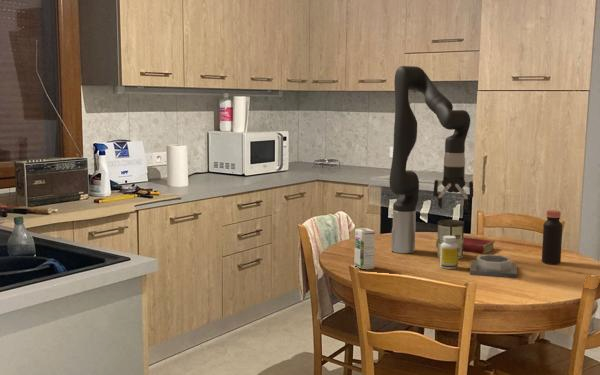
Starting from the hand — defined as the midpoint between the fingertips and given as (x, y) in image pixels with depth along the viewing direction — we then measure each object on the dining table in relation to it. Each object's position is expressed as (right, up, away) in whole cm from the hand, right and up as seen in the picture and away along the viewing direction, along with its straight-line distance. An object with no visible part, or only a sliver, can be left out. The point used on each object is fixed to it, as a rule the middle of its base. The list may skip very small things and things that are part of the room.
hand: (452, 208), depth 237 cm
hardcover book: (+13, -19, +34) cm, 41 cm away
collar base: (+14, -23, -2) cm, 27 cm away
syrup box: (-33, -22, +2) cm, 40 cm away
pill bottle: (-1, -22, +3) cm, 22 cm away
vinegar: (+40, -21, +9) cm, 46 cm away
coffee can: (+4, -20, +20) cm, 28 cm away
